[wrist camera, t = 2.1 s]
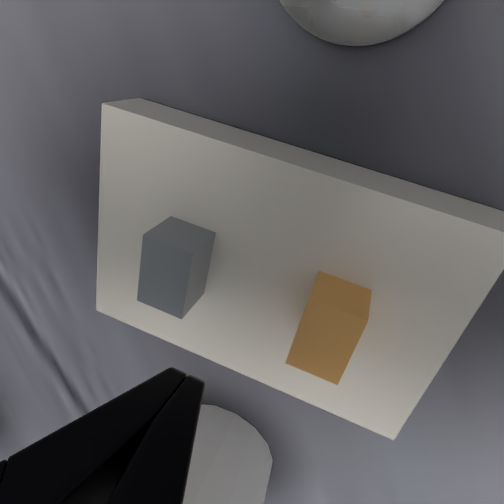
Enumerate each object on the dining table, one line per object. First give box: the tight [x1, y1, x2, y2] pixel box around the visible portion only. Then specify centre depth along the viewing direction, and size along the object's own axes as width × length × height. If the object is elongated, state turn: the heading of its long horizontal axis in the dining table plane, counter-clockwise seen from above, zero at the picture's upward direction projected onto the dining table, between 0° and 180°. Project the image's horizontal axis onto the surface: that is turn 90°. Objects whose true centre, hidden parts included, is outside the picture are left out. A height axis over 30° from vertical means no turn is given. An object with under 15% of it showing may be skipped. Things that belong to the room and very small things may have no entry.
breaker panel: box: [96, 98, 504, 440], centre depth 13 cm, size 12×8×4 cm, turn 77°
